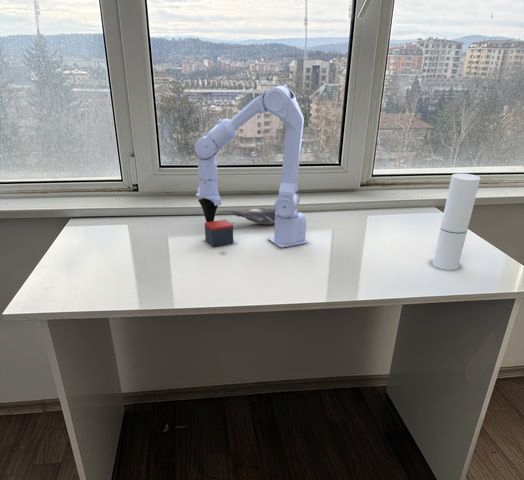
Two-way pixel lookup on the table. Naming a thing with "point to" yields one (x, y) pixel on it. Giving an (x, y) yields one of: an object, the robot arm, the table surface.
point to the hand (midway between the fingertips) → (209, 221)
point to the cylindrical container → (455, 220)
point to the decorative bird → (256, 215)
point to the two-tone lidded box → (219, 233)
